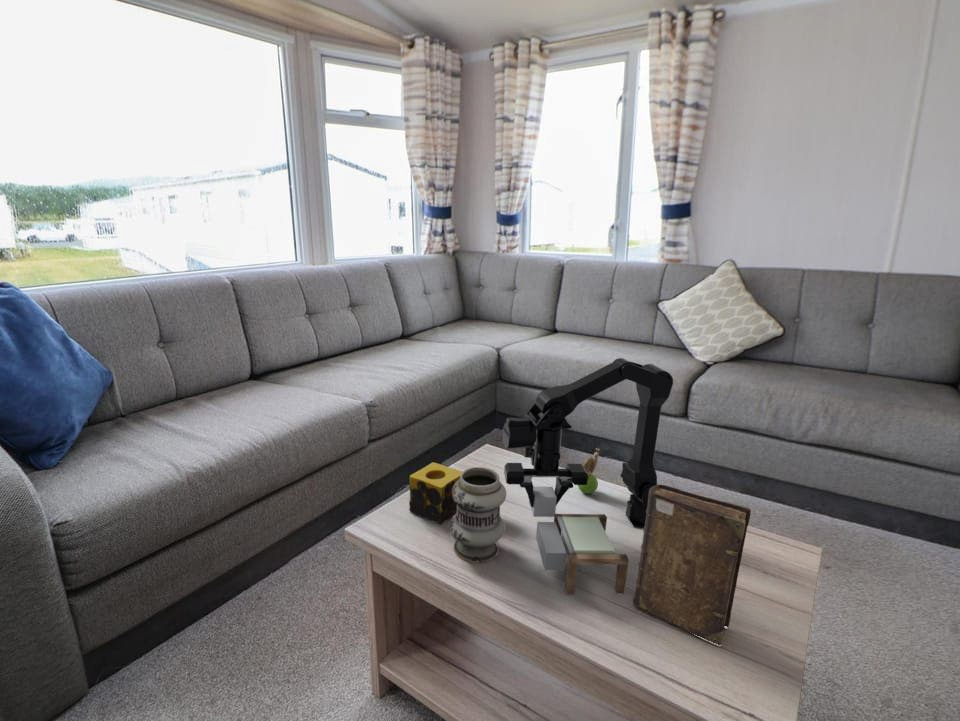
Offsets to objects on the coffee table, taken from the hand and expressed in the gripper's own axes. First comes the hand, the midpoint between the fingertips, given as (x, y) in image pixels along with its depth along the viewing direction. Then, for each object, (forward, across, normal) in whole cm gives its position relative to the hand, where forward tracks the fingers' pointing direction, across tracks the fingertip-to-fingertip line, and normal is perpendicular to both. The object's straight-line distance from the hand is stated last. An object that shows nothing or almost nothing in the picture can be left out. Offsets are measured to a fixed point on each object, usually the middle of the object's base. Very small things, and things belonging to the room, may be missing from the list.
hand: (542, 506), depth 123 cm
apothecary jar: (+6, +16, +8) cm, 19 cm away
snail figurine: (+6, -16, -18) cm, 25 cm away
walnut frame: (+6, -7, +14) cm, 17 cm away
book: (+6, -21, +29) cm, 36 cm away
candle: (+6, +25, -8) cm, 27 cm away
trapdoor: (+3, -4, +15) cm, 15 cm away
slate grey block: (+1, 0, 0) cm, 1 cm away
